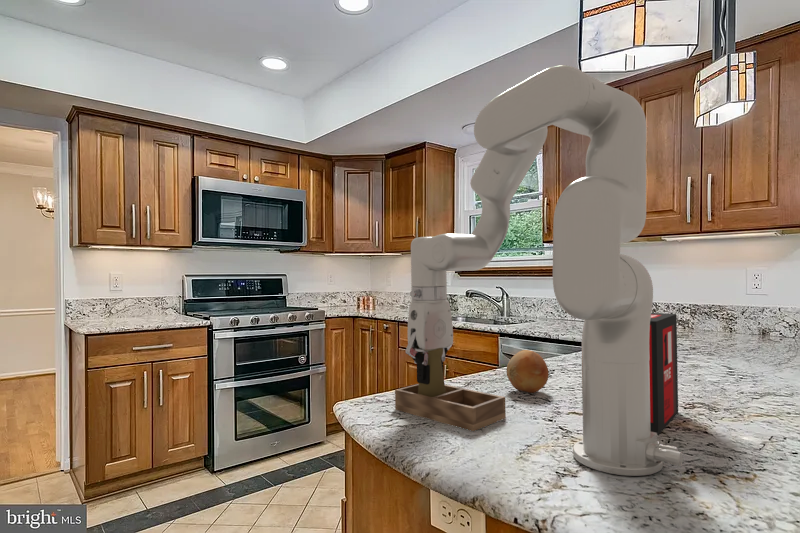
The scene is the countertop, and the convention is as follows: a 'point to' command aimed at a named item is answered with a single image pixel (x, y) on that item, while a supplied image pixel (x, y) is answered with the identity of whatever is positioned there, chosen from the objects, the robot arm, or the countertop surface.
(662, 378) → the cleaning product box
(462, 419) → the wooden divided tray
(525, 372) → the onion
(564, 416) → the countertop surface
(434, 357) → the cork
